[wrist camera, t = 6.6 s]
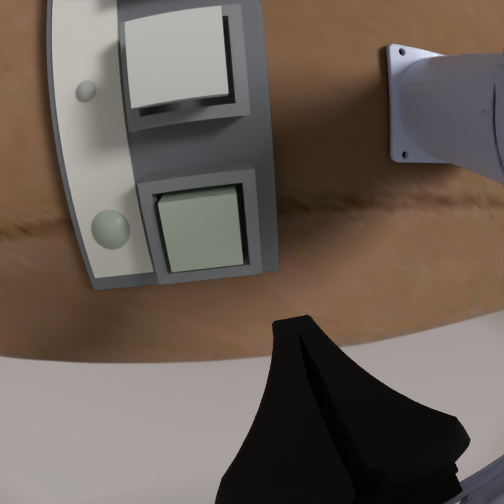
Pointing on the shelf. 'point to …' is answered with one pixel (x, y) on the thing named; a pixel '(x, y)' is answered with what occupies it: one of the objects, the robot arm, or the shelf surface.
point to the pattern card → (97, 136)
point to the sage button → (201, 227)
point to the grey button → (176, 57)
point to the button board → (197, 145)
